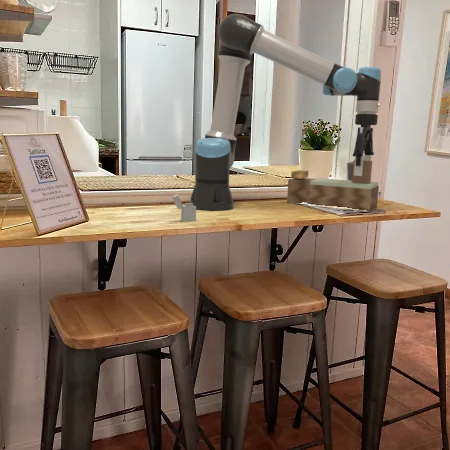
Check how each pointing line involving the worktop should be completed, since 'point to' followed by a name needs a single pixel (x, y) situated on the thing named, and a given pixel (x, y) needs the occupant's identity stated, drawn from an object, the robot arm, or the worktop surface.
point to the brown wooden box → (331, 195)
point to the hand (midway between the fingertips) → (362, 174)
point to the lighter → (185, 209)
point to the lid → (356, 181)
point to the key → (299, 174)
